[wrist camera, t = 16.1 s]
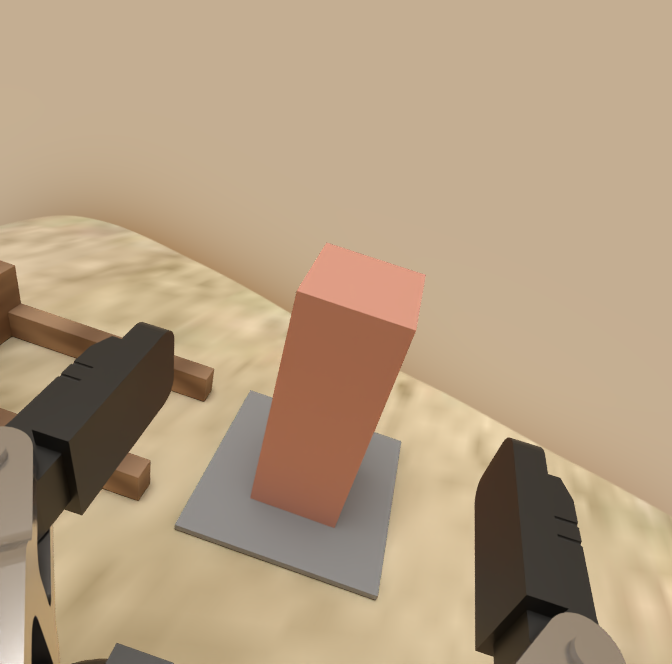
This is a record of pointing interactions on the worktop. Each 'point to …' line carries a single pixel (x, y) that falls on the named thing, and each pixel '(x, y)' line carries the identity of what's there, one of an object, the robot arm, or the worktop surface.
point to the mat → (285, 527)
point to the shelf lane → (73, 339)
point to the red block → (334, 379)
